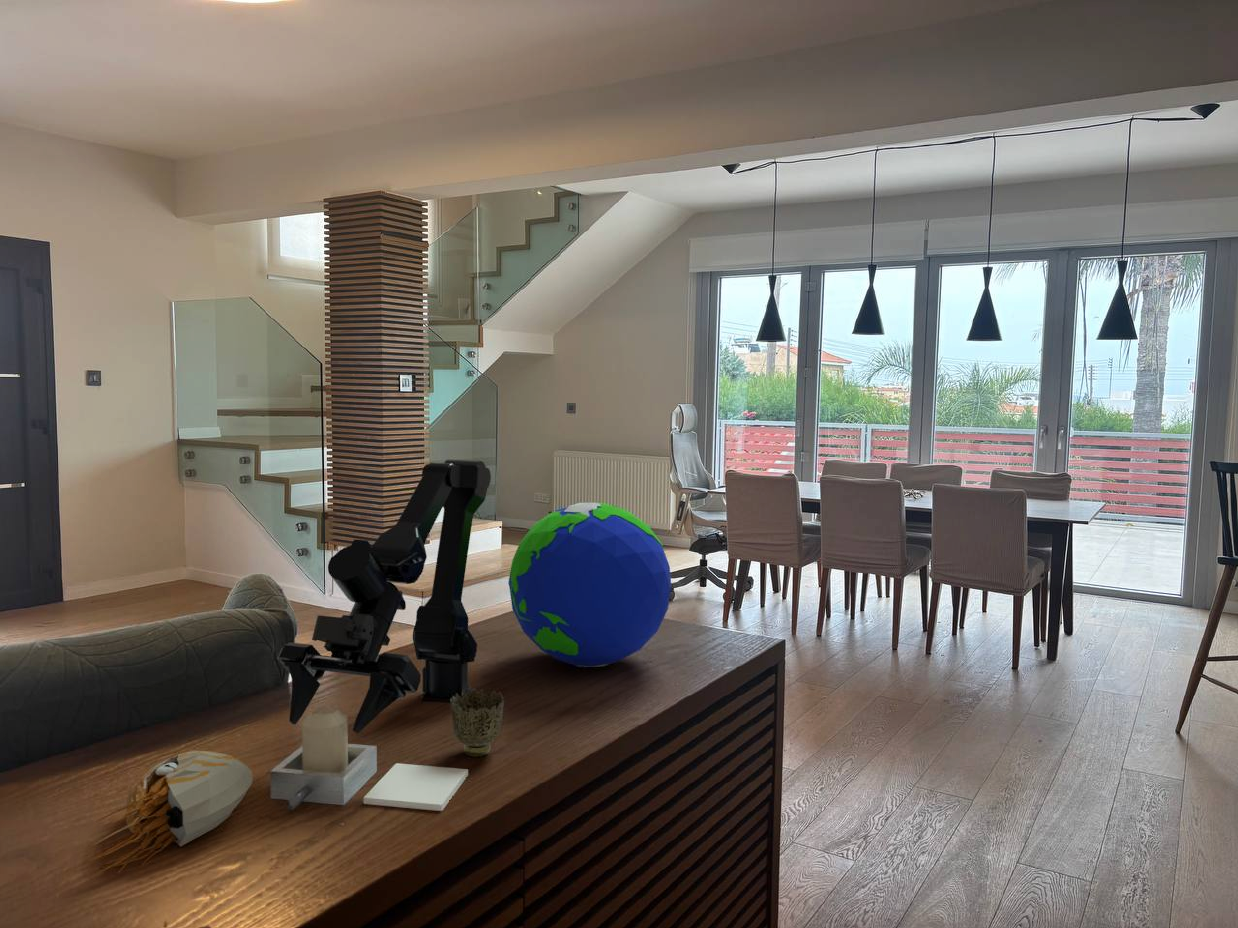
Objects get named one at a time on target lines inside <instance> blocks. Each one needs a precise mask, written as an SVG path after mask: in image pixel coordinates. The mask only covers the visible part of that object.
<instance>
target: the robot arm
mask: <svg viewBox="0 0 1238 928" xmlns="http://www.w3.org/2000/svg"><path fill="white" fill-rule="evenodd" d="M422 468H423V469H422V472H421V478H420V480H419V482H418V484H417V485H416V487H415V489H414V491H413V493H412V495H411V496H410V498H409V499H408V501H407V504H406V506H405V507H404V510H403V511H402V513H401V514H400V516H399V518H398V520H397V522H396V523H395V525H394V526H393V527H390V528H389V529H387V530H385V531H384V532H382V533H381V534H380V535H379V536H378V538H377V539H376V540H375V541H374V543H373V544H372V545H371V544H370V542H369V541H368V540H367V539H357V538H355V539H353V541H352V542H351V544H350V545H349V546H346V547H343V548H342V549H339V550H338V551H337V552H336V553H335V554H334V555H333V556H331V558H330V559H329V561H328V564H327V571H328V574H329V576H330V577H331V579H333V581H334V582H335V584H336V585H337V586H338V588H339V589H340V591H341V592H342V593H343V595H344V596H345V597H346V598H347V600H349V601H351V602H353V603H354V604H353V606H352V609H351V610H350V613H349V614H348V615H347V614H342V616H341V617H338V616H329V615H317V617H316V620H315V624H314V625H315V626H314V630H313V634H312V638H311V640H312V641H315V642H317V641H320V642H323V643H325V644H324V646H323V648H324V649H325V650H326V651H327V652H330V653H331V655H330V656H328V655H323V654H322V655H321V653H320V652H319V651H318V650H317V649H316V647H314V645H313V644H310V643H309V644H308V643H299V642H291V641H290V642H289V643H285V644H284V645H283V646H282V648H281V650H280V651H279V654H278V655H277V658H276V660H277V661H279V663H280V664H281V665H282V666H283V669H285V670H286V671H287V672H288V673H289V674H290V677H291V678H290V679H291V697H290V698H291V699H290V709H289V710H290V711H289V722H290V724H292V725H295V726H296V725H297V723H299V721H300V719H301V718H302V717H303V715H304V713H305V712H306V709H307V708H308V706H309V705H310V704H311V702H312V700H313V698H314V696H315V695H316V693H317V691H318V690H319V688H320V687H321V683H320V682H319V681H318V680H319V679H321V678H323V676H324V674H325V672H331V673H332V672H333V673H341V674H346V675H347V674H348V675H349V674H350V675H356V676H365V677H369V684H368V685H369V687H368V690H367V692H366V694H365V697H364V699H363V702H362V703H361V706H360V709H359V711H358V713H357V715H356V717H355V720H354V724H353V727H352V731H353V733H355V734H359V733H361V732H362V731H363V729H365V728H366V727H367V726H368V725H369V724H370V723H371V722H372V721H373V720H374V719H375V718H377V716H378V715H380V714H381V713H382V712H383V711H384V710H385V709H387V708H388V707H389V706H390V705H392V704H393V703H394V702H395V701H396V700H398V699H400V698H406V696H407V693H409V694H415V693H417V691H418V689H419V686H420V685H421V684H422V687H421V689H422V693H423V694H422V695H421V697H420V699H421V700H422V701H423V700H424V701H434V702H435V701H436V702H438V701H439V702H449V703H450V699H451V700H452V696H454V697H455V695H456V693H457V694H458V695H459V696H460V697H461V694H462V692H463V691H465V693H466V694H468V693H469V692H470V691H471V690H472V686H470V685H468V678H469V677H468V673H469V671H468V668H469V667H468V666H469V665H468V663H473V662H474V661H475V658H476V656H477V651H478V650H477V649H478V643H477V641H476V640H475V638H474V636H473V635H472V634H471V632H470V629H469V616H468V613H467V612H466V609H465V606H464V605H463V602H462V596H463V590H464V583H465V574H466V567H467V562H468V561H467V560H468V555H469V546H470V540H471V532H472V526H473V518H474V514H475V513H476V512H477V510H478V509H479V508H480V507H481V506H482V504H483V503H484V502H485V500H486V497H487V492H488V488H489V487H490V484H491V479H492V474H491V470H490V468H489V467H486V464H485V462H484V461H481V460H469V459H467V460H466V459H464V460H463V459H446V460H445V461H444V462H429V463H426V464H425V465H424V466H423V467H422ZM442 509H443V516H442V522H441V530H440V537H439V543H438V550H437V557H436V563H435V570H434V577H433V582H432V590H431V597H429V599H428V601H427V602H426V603H425V604H424V605H419V607H418V608H417V610H416V615H415V616H416V618H415V623H414V627H413V630H412V641H413V642H412V643H413V646H414V651H415V652H414V653H415V656H416V660H417V661H424V663H425V665H424V666H423V667H422V669H421V673H422V674H421V673H420V671H419V669H418V668H417V667H416V666H415V664H414V662H412V660H411V658H410V657H409V656H408V654H407V655H406V654H397V653H389V652H383V653H382V654H380V652H381V650H382V647H383V646H385V647H388V646H389V644H390V641H391V638H390V637H389V636H388V633H389V631H390V629H391V628H390V627H391V625H392V623H393V621H394V618H395V616H396V613H397V612H398V610H399V611H404V610H406V608H407V605H406V601H405V600H406V599H404V596H403V595H404V594H403V591H402V590H399V588H398V587H397V585H395V584H404V585H410V584H415V583H416V582H417V581H418V579H419V578H420V576H421V575H422V574H423V571H424V568H425V563H426V561H427V557H428V556H427V551H426V547H425V544H426V541H427V539H428V537H429V535H430V532H431V530H432V529H433V526H435V522H436V521H437V519H438V517H439V515H440V513H441V511H442ZM421 675H422V676H421ZM421 677H422V679H421ZM421 682H422V683H421ZM420 683H421V684H420Z"/></svg>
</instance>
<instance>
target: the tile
mask: <svg viewBox="0 0 1238 928" xmlns="http://www.w3.org/2000/svg"><path fill="white" fill-rule="evenodd" d="M468 776H469V769H467V768H457V767H456V768H455V767H445V766H432V765H420V764H411V763H410V764H408V763H397V762H396V763H394V765H393V766H391V768H390V769H389V770H388V771H387V772H386V773H385V774H384V775H383V776H382V777H381V779H379V781H378V782H377V783H376V784H375V785H374V786H373V787H372V788H371V789H370V790H369V791H368V792H367V793H366V795H364V797H363V804H364V805H374V806H384V807H395V808H404V809H405V808H406V809H407V808H408V809H413V810H414V809H415V810H416V809H417V810H425V811H426V810H427V811H434V812H435V811H437V812H442V811H444V809H445V807H446V806H447V805H448V803H449V802H450V801H451V800H452V798H453V797H454V795H455V794H456V793H457V791H458V790H459V788H461V786H462V784H463V783H464V782H465V781H466V779H467V778H466V777H468ZM452 796H453V797H452ZM449 800H450V801H449Z"/></svg>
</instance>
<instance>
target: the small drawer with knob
mask: <svg viewBox="0 0 1238 928" xmlns="http://www.w3.org/2000/svg"><path fill="white" fill-rule="evenodd" d="M377 746H378V745H370V744H369V745H367V744H356V743H348V766H347V767H346V768H345V769H344V770H343V771H342V772H341V773H329V772H318V771H306V770H303V762H302V745H301V746H299V748H297V749H296V750H294V752H292V753H291V754H290V755H289V756H287V757H286V758H285V759H284V760H282V761H281V762H279V764H278V765H276V766H275V767H274V768H272V769H271V770H270V773H269V774H270V776H269V777H270V799H274V800H275V799H276V800H283V801H284V800H286V801H285V808H286V809H287V810H288V811H292V810H295V808H297V806H298V805H300V804H301V803H302V802H304V803H315V804H316V803H317V804H326V805H337V806H345V805H346V804H347V803H348V802H349V801H350V800H351V799H352V798H353V797H354V796H355V794H356V793H358V792H359V790H360V789H362V788H363V786H364V785H365V784H366V783H368V781H369V780H371V778H372V777H373V776H374V775H375V774H376V773H377V772H378V766H377V765H378V764H377V763H378V759H377V758H378V752H377V748H378V747H377Z"/></svg>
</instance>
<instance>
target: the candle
mask: <svg viewBox="0 0 1238 928" xmlns="http://www.w3.org/2000/svg"><path fill="white" fill-rule="evenodd" d="M348 734H349V733H348V716H347V715H346V714H344V712H342V711H340V710H339V708H335V707H333V706H332V705H330V704H325V705H322V706H320V707H318V708H317V709H315V710H314V711H313V712H311V713H309V714H308V715H307V716H305V717H304V718H303V719H302V721H301V746H302V762H303V770H306V771H318V772H329V773H341V772H342V771H343V770H344V769H345V768H346V767H347V766H348V744H349V743H348V740H349V739H348V738H349V737H348Z"/></svg>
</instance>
